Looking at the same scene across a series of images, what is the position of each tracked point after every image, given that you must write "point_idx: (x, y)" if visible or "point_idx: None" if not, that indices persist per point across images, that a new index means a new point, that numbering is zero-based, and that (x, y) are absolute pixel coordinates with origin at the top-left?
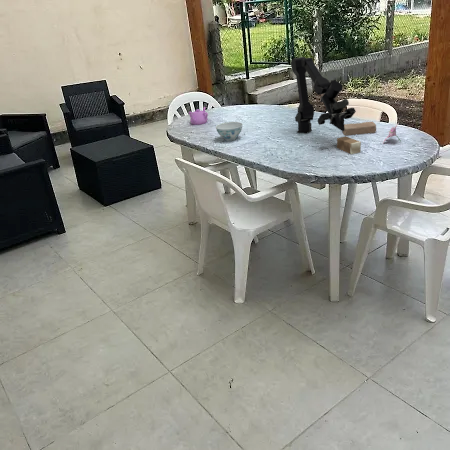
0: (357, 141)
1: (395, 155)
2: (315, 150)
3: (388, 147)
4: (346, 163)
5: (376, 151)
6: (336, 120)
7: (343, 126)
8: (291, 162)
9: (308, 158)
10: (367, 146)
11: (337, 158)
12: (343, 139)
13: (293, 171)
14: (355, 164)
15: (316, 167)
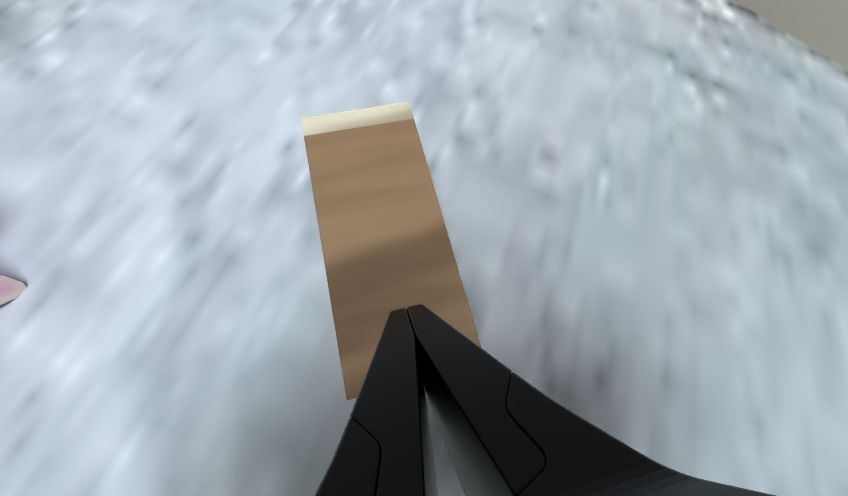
0: (322, 142)
1: (163, 31)
2: (663, 383)
3: (68, 179)
4: (497, 42)
5: (214, 140)
6: (684, 481)
7: (398, 347)
8: (838, 190)
9: (724, 214)
10: (193, 279)
11: (525, 131)
12: (426, 276)
13: (802, 59)
14: (454, 13)
15: (674, 58)
